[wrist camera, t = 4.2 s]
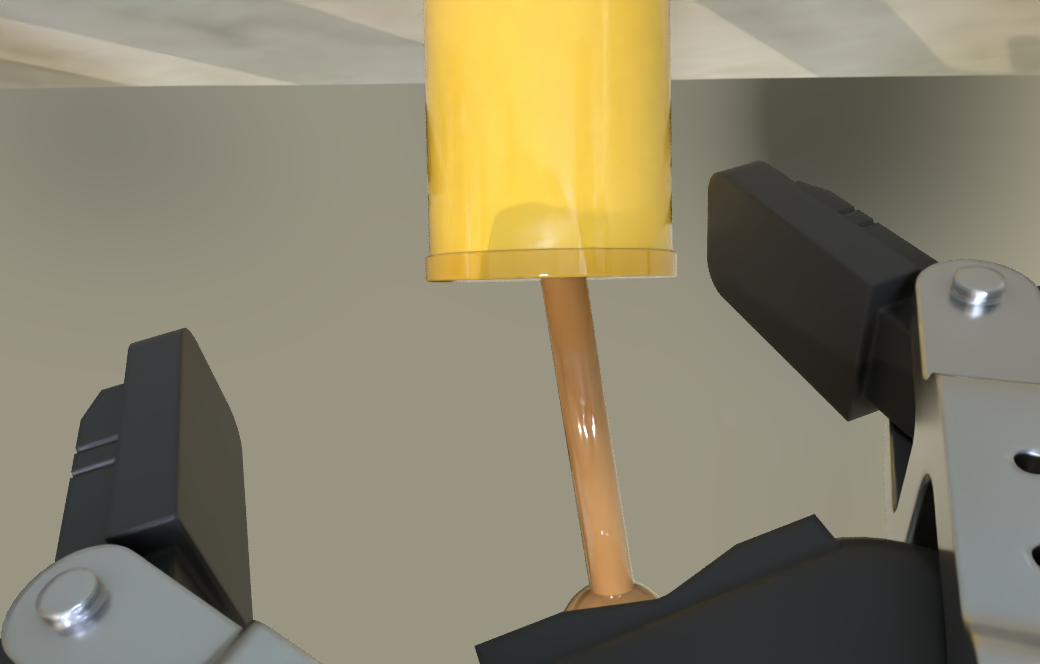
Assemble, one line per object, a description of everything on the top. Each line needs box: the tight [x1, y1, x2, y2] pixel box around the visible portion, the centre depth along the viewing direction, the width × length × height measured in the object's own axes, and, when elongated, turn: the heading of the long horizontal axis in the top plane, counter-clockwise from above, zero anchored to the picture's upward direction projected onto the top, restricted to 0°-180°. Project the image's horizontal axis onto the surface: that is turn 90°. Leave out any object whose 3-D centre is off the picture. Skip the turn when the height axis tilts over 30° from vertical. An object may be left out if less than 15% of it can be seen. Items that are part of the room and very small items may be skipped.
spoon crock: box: [423, 0, 677, 611], centre depth 19 cm, size 6×6×22 cm
